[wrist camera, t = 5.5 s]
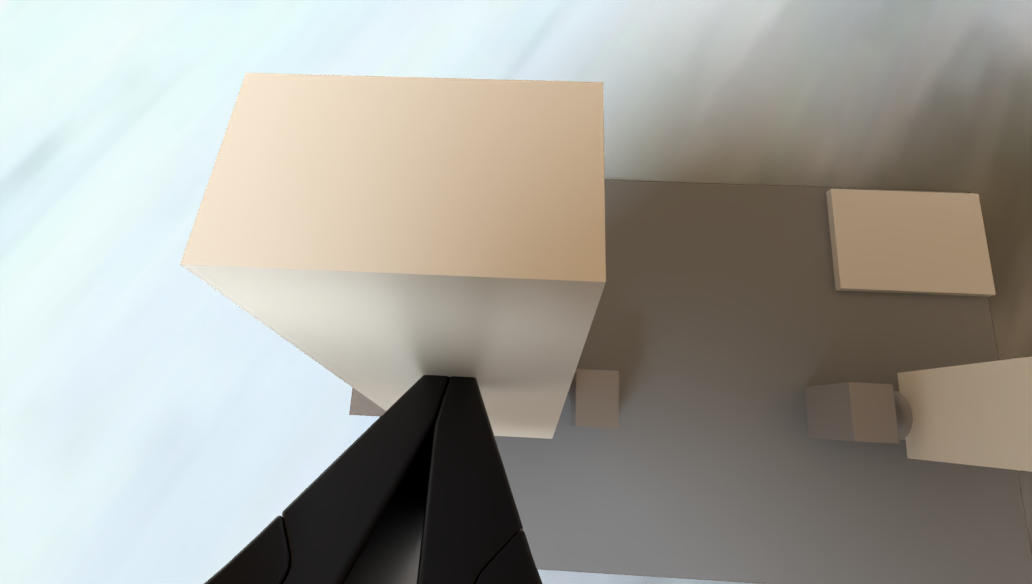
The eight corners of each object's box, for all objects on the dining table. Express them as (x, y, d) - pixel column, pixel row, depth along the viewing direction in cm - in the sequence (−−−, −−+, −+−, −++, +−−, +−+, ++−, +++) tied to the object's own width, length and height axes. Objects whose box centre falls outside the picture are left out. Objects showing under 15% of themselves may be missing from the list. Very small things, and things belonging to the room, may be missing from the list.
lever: (557, 443, 16) (627, 283, 5) (414, 435, 16) (158, 263, 5) (559, 366, 17) (621, 82, 6) (424, 360, 17) (228, 71, 6)
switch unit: (1065, 597, 16) (1186, 637, 13) (364, 552, 17) (328, 581, 14) (993, 200, 19) (1078, 160, 16) (405, 180, 20) (383, 138, 17)
